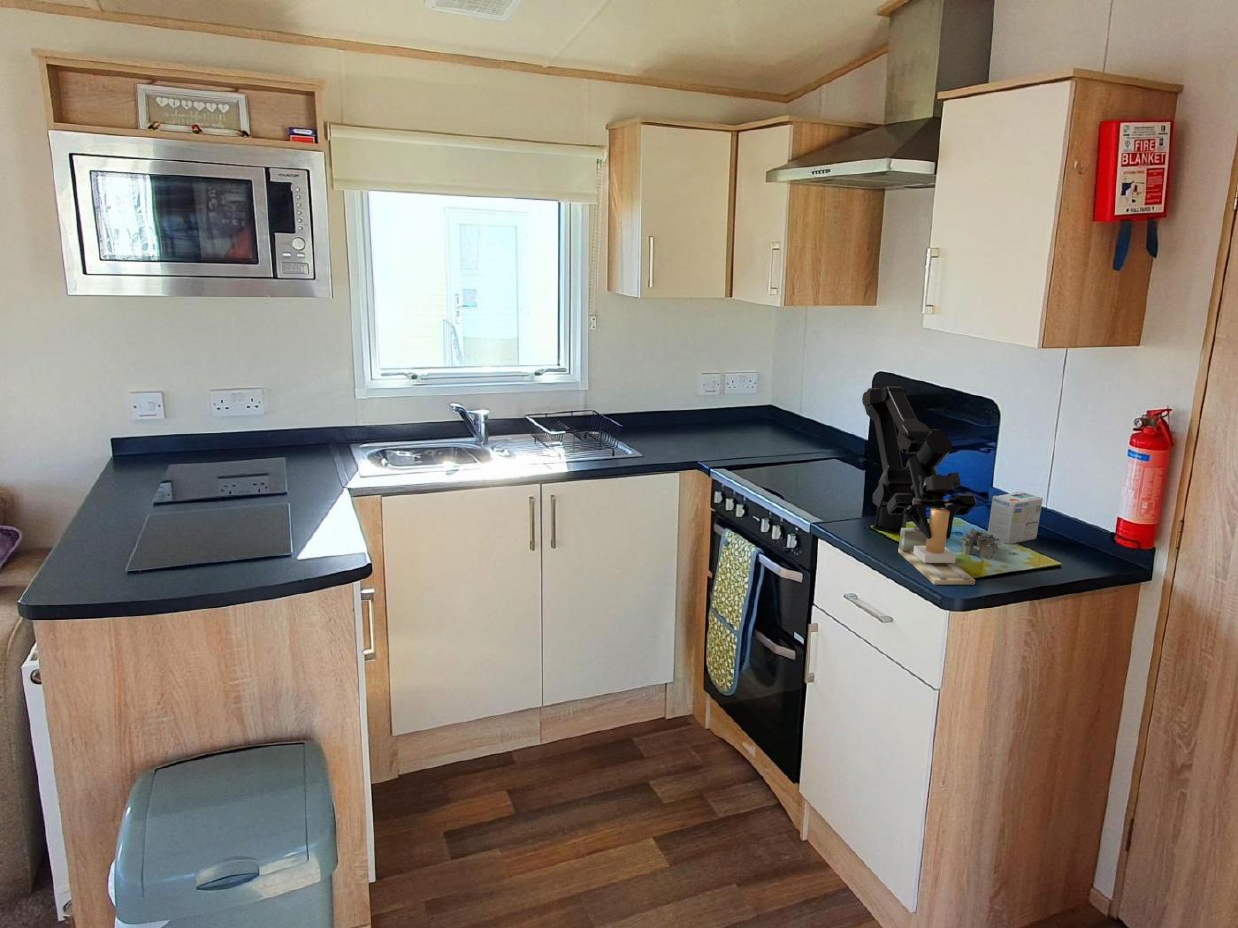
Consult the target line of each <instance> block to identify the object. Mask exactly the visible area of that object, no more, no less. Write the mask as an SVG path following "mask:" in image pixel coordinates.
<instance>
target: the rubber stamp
mask: <svg viewBox="0 0 1238 928" xmlns="http://www.w3.org/2000/svg"><path fill="white" fill-rule="evenodd" d="M949 513H950V511H948V510H946V509H941V508H930V511H929V519H928V523H929V527H930V530H931V538H930V539H928V538H927V540H926V546H914V551H913V553H914V554H915V555H916V556H917V557H918V558H919V559H921V560H922V561H923V562H924V563H955V564H956V558H957V557H956V556H957V555H956V554H955V553H954V552H953V551H952V550H951V549H948V547H946V541H947V538H946V535H947V528H948V521H949Z"/></svg>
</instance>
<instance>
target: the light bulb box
mask: <svg viewBox="0 0 1238 928" xmlns="http://www.w3.org/2000/svg"><path fill="white" fill-rule="evenodd" d="M1042 505H1043V497H1040V496H1037V495H1033V494H1030V493H1026V492H1024V491H1017V492H1011V493H1006V494H1001V495H993V496H992V501H991V507H990V508H991V509H990V515H989V521H988V529H987V534H989V535H991V534H992V535H993V537H995V538H997V537H1000V542H1001V543H1004V544H1006V545H1011V544H1014V543H1019V542H1020V543H1021V542H1026V541H1031V540H1036V539H1037V535H1038V529H1039V525H1040V516H1041V511H1042Z"/></svg>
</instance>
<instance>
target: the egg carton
mask: <svg viewBox="0 0 1238 928" xmlns="http://www.w3.org/2000/svg"><path fill="white" fill-rule="evenodd" d="M960 542H961V548H960V552H962V553H964V554H965V555H977V556H979V558H982V559H985V558H992V556H993V554H995V552H996V551H997V550H999V547H998V546H999V543H1000V542H1001V541H1000V537H997V538H995V537H993V535H992V534H991V535H989V534H988V532H984V531H979V530H977V529H974V528H971V529H970V530H969V532H966V534H965V535H963V536H961V537H960ZM975 543H976V545H974V544H975Z"/></svg>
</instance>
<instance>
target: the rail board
mask: <svg viewBox="0 0 1238 928" xmlns="http://www.w3.org/2000/svg"><path fill="white" fill-rule="evenodd" d="M899 533H900V535H899V543H898V551H897V552H898V553H899V554H900V555H901V556H902V557H903V558H904V559H905V560H906V561H907V562H908V563H910V565H912V566H913V567H914V568H915V569H916V570H917V571H918V572H920V573H921V574H922V575H923V576H924V577H925V578H926V579H928V580H929V581H930V582H931V583H932V584H933V585H975V584H976V579H975V578H973V577H972V576H971V575H970V574H969V573H967V572H966V571H965V570H963V569H962V568H961V567H960V566H959V565H957V564H956V562H955V563H924V562H923V561H922V560H921V559H919V558H918V557H917V556H916V555H915V554H914V553H913V551H914V546H926V540H927V537H926V536H925V535H924V534H923V532H922V531H921V530H920V529H919V528H918V527H917V526H916V525H914V526H913V527H906V528H901V531H900V532H899Z"/></svg>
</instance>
